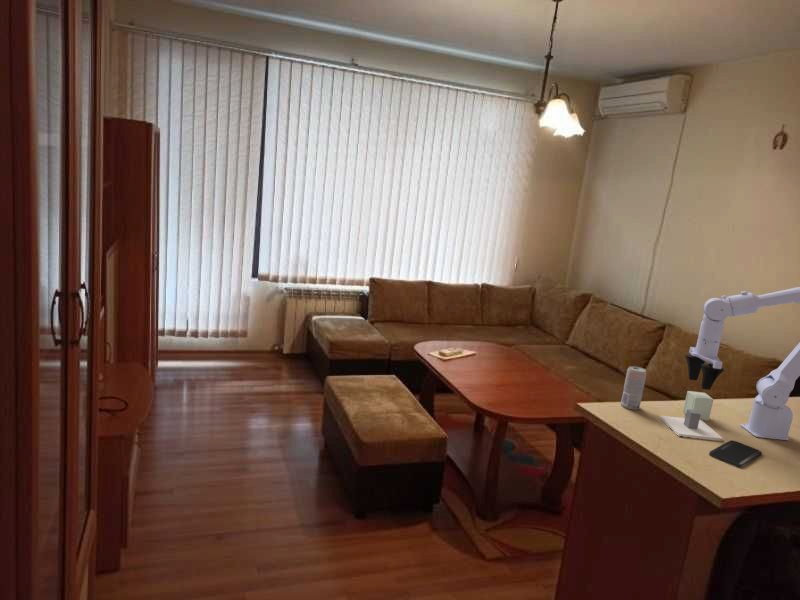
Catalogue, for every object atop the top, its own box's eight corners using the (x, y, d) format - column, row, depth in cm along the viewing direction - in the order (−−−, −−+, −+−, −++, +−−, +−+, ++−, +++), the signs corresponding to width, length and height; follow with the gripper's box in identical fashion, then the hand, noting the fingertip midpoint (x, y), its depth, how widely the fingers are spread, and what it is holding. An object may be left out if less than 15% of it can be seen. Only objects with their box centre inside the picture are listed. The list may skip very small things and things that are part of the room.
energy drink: (636, 404, 176) (644, 367, 174) (641, 411, 171) (649, 373, 169) (618, 401, 177) (625, 364, 174) (623, 408, 172) (630, 370, 169)
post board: (700, 422, 167) (704, 405, 166) (722, 441, 156) (726, 422, 155) (659, 418, 167) (663, 401, 166) (678, 436, 156) (682, 418, 154)
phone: (763, 452, 150) (741, 465, 140) (762, 456, 150) (740, 470, 140) (731, 439, 156) (707, 451, 146) (730, 443, 156) (706, 456, 146)
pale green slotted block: (699, 413, 175) (704, 392, 173) (708, 420, 170) (713, 399, 168) (682, 411, 175) (687, 390, 173) (691, 418, 170) (695, 397, 168)
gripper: (683, 331, 173) (674, 374, 176) (708, 345, 159) (698, 391, 162) (706, 333, 173) (697, 376, 176) (733, 348, 159) (722, 394, 162)
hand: (699, 384), depth 169 cm, fingers open, 7 cm apart
